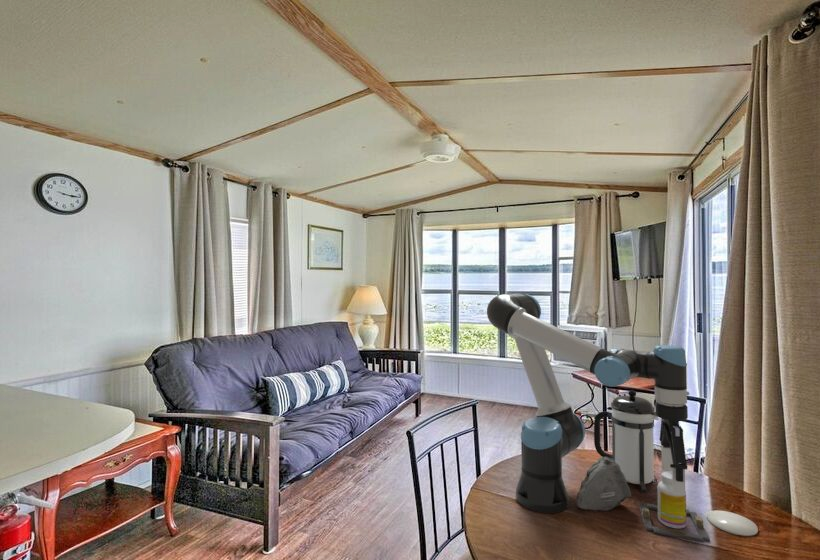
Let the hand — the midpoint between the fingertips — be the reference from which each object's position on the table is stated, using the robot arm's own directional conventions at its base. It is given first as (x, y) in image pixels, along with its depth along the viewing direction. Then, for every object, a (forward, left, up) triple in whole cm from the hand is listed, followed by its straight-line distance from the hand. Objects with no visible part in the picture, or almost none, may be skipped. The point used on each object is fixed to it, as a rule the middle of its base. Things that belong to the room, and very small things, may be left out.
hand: (672, 481), depth 114 cm
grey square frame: (0, 0, -12) cm, 12 cm away
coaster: (+15, +5, -12) cm, 19 cm away
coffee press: (-8, +23, -12) cm, 27 cm away
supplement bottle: (0, 0, -12) cm, 12 cm away
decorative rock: (-17, +1, -12) cm, 21 cm away
